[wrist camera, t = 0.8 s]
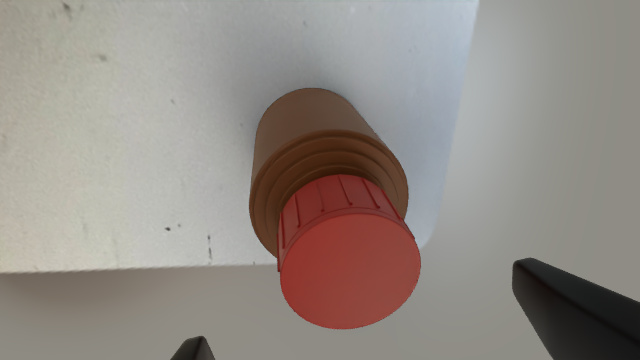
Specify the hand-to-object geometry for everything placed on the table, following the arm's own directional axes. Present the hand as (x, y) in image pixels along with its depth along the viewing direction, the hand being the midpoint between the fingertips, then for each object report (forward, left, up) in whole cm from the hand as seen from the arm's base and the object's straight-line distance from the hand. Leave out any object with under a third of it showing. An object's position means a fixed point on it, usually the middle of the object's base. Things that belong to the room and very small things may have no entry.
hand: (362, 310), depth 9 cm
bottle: (0, 0, -13) cm, 13 cm away
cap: (0, 0, -2) cm, 2 cm away
